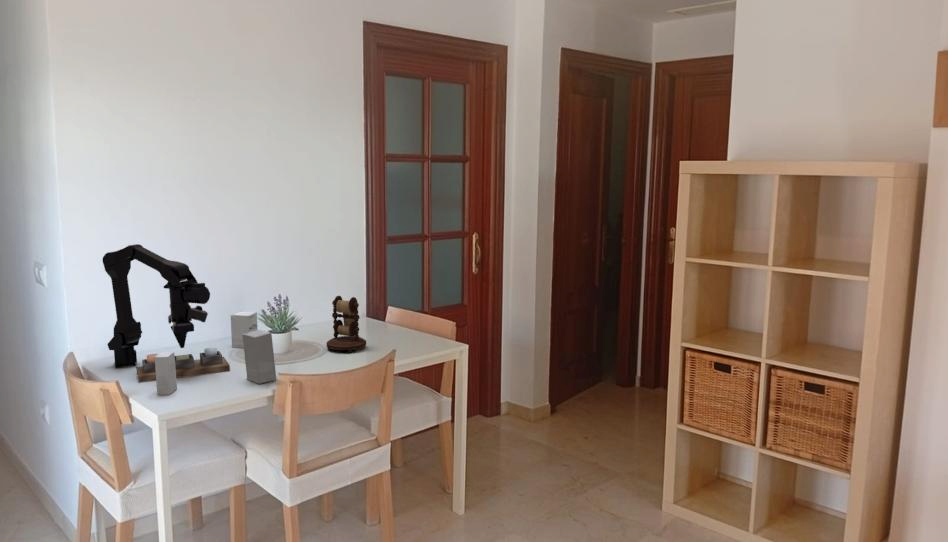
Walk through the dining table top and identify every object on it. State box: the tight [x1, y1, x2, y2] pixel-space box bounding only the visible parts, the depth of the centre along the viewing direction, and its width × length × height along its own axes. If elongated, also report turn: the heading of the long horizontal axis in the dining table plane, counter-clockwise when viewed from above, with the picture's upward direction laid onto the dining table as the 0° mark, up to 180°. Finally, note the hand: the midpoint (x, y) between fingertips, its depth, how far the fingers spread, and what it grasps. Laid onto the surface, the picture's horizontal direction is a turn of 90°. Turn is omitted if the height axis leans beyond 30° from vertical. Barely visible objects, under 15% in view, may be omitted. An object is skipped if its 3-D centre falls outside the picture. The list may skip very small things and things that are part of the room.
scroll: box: [326, 295, 367, 354], centre depth 277 cm, size 15×15×20 cm
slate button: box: [203, 346, 218, 357], centre depth 252 cm, size 4×4×3 cm
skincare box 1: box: [154, 351, 178, 396], centre depth 227 cm, size 6×4×12 cm
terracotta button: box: [146, 353, 159, 364], centre depth 244 cm, size 4×4×3 cm
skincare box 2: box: [242, 329, 277, 385], centre depth 239 cm, size 8×7×16 cm
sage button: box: [176, 354, 189, 360], centre depth 248 cm, size 4×4×3 cm
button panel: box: [135, 350, 231, 383], centre depth 249 cm, size 28×12×5 cm, turn 117°
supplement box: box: [230, 310, 259, 349], centre depth 282 cm, size 7×7×13 cm
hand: (182, 347), depth 248 cm, fingers closed
